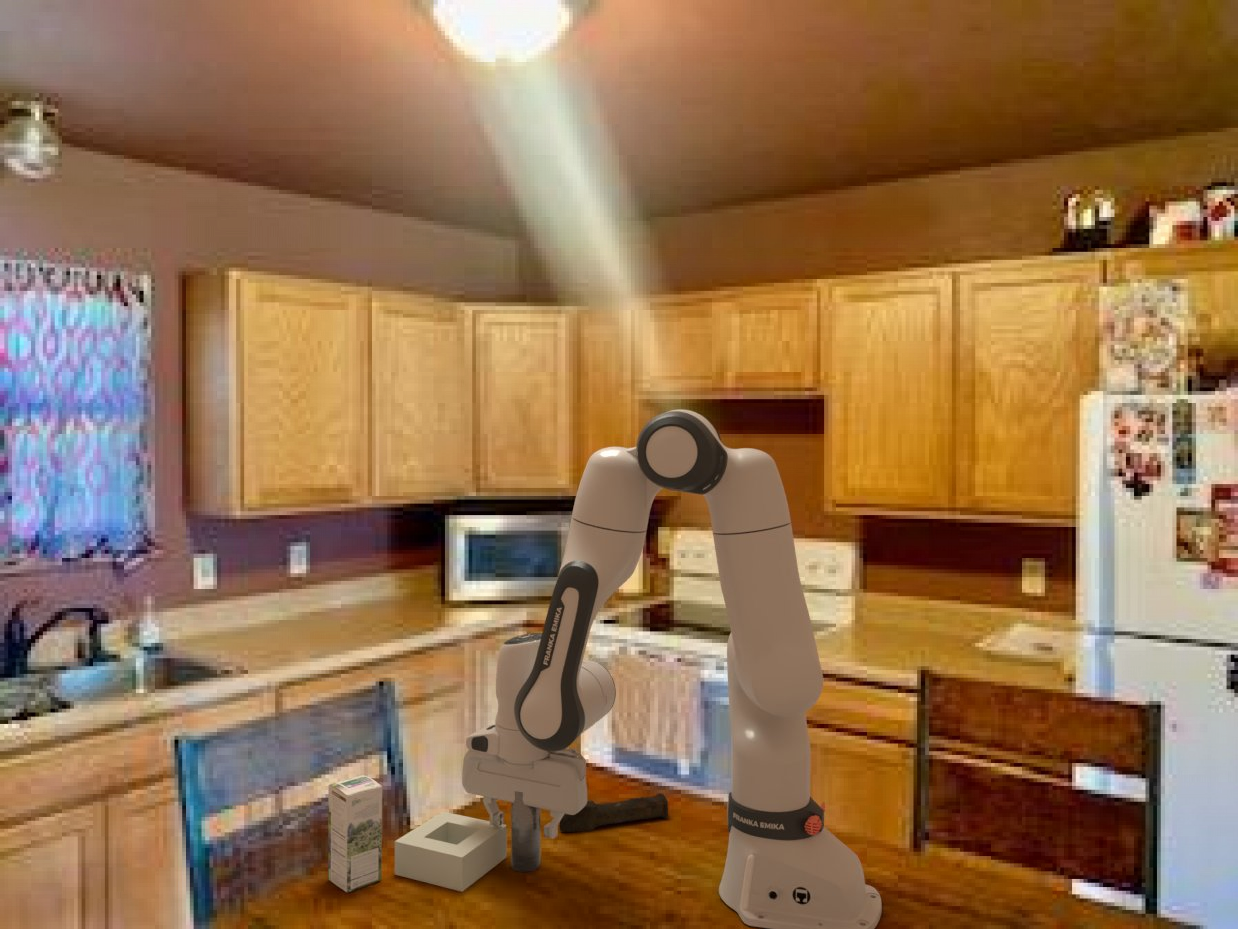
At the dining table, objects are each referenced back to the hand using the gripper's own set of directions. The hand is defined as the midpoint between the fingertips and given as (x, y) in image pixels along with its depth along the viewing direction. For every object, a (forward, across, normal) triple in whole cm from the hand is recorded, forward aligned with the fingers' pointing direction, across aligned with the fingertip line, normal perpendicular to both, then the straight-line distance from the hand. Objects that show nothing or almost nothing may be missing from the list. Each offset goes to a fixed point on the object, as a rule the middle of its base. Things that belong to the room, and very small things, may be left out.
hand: (523, 830), depth 140 cm
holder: (+6, +10, +5) cm, 12 cm away
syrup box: (+6, +20, +14) cm, 25 cm away
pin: (+5, 0, 0) cm, 5 cm away
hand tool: (+6, -7, -19) cm, 21 cm away
